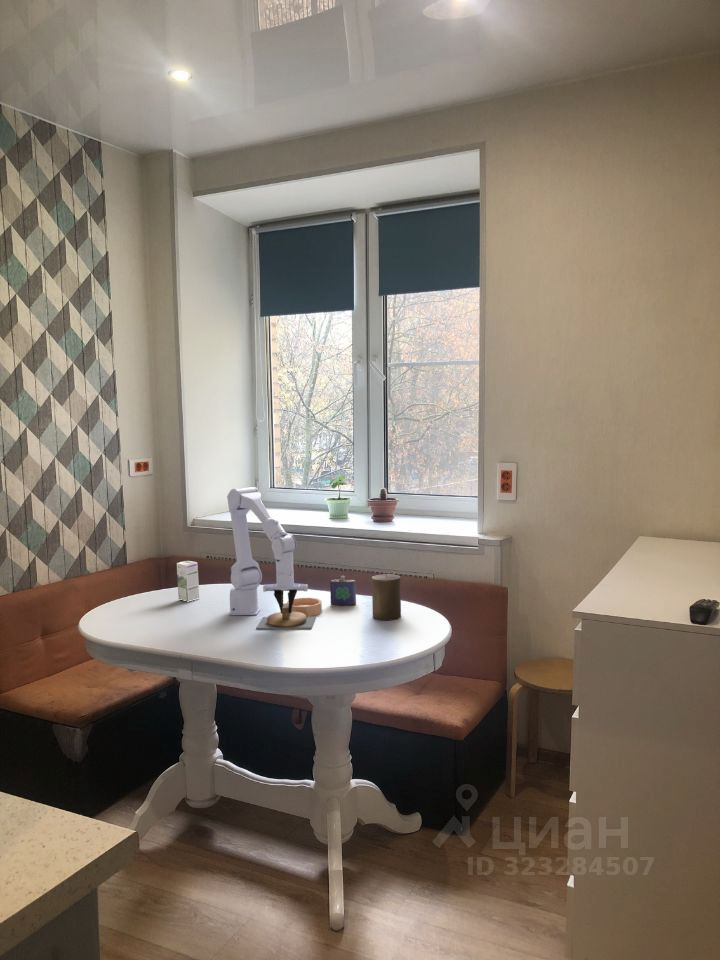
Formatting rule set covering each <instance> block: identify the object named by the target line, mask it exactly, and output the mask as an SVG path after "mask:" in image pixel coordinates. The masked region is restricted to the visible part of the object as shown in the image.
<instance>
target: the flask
mask: <svg viewBox="0 0 720 960" xmlns="http://www.w3.org/2000/svg"><path fill="white" fill-rule="evenodd" d="M345 577H346V576H345V575H341V576H340V578H337V579H336V578H335V579H331V580H330V582H329V584H330V585H329V586H330V606H331V607H332V606H334V607H337V606H338V607H343V606H346V607H349V606H351V607H352V606H356V604H357V593H356V591H357V590H356V589H357V588H356V584H357V583H356V580H355V579H347V580H346V579H345Z"/></svg>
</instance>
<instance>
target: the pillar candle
mask: <svg viewBox="0 0 720 960" xmlns="http://www.w3.org/2000/svg"><path fill="white" fill-rule="evenodd" d="M371 591H372V592H371V593H372V594H371V595H372V597H371V598H372V599H371V600H372V602H371V603H372V617H373V619H376V620H380V621H391V620H390V619H394V620H397V619H396V618H398V617H400V616H401V617H402V600H401V599H402V597H401V594H402V593H401V592H402V591H401V576H400V575H398V574H390V573H385V574H384V573H383V574H376V575H374V576H373V575H372V576H371ZM401 617H400V618H401Z"/></svg>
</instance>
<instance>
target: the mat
mask: <svg viewBox="0 0 720 960" xmlns="http://www.w3.org/2000/svg"><path fill="white" fill-rule="evenodd" d="M267 617H268V616H263V617H262V618H261V619H260V621H259V623H258V624H257V626H256V628H255V630H256V629H263V630H312V629H313V627H314V624H315V622H316V619H317V616H309V617H306V621H305V622H304V623H302V624H300V625H296V626H289V627H278V626H272V625H270V624H268V623H267Z"/></svg>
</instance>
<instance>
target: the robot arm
mask: <svg viewBox="0 0 720 960" xmlns="http://www.w3.org/2000/svg"><path fill="white" fill-rule="evenodd" d="M227 505H228V511H229V514H230V519H231V527H232V528H231V529H232V534H233V540H234V548H235V555H236V561H235V563H234V564H233V565H232V566H231V567H230V572H231V573H230V582H231V585H232V587H231V588H230V591H229V612H230V613H229V615H230V616H257V615H258V614H259V612H260V611H261V609H262V607H259V602H258V599H259V598H258V596H259V595H258V587H260V584H261V582H262V580H263V574H262V570H261V568H260V566H259V562H257V561H256V560H254V559H253V555H252V548H251V540H250V533H249V532H250V531H249V526H248V519H247V514H248V513H249V511H251V512H252V513H253V514H254V515H255V516H256V517H257V519H258V520H259V521H260V522H261V524H262V531H263V532H264V534H265V535H266V536H267V538H268V539H269V540H270V542H271V550H272V553H273V558H274V560H275V570H276V571H275V572H276V575H275V576H276V577H275V580H276V583H271V584H270V583H269V584H263V586H262V592H264V593H265V592H266V593H267V592H273V596H274V598H275V600H276V601H277V602H276V603H277V604H278V607H279V610H280V611H279V612H281V613H282V607H283V605H284V592H288V593H287V599H288V600H287V601H289V613H291V612H292V605H293V601H294V599H296V595H297V593H298V592H302V591H303V592H308V590H309V585H308V584H305V583H295V573H294V568H295V567H294V551H296V550H297V549H296V548H297V545H298V543H297V540H296V538H295V536H294V535H293V534H291V533H289V532H286V531H285V528H283V526H282V525H281V524H280V522H279V520H278V519H277V518H272V516H271V515H270V513H269V512H268V510H267V508H266V507H265V505H264V503H263V502H262V493H261V492H260V490H259V489H258V488H257V487H256V486H251V487H250V486H249V487H242V488H232V489H230V491H229V492H228V494H227Z"/></svg>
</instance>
